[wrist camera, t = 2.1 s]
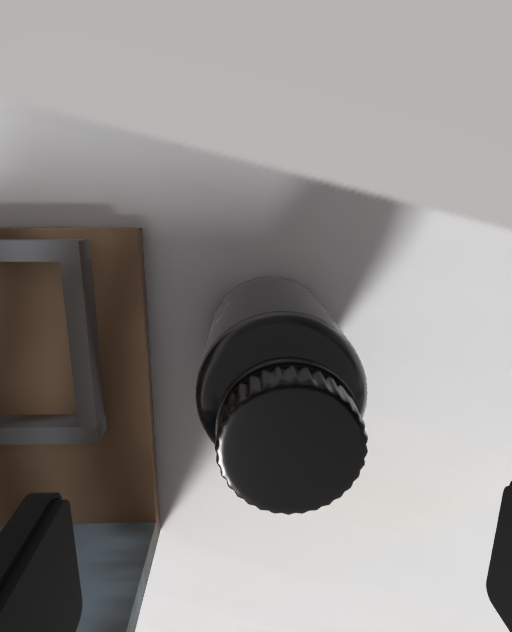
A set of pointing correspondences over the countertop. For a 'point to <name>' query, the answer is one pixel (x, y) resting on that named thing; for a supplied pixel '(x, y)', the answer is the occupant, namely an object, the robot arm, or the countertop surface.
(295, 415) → the supplement bottle
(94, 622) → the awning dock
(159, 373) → the countertop surface
